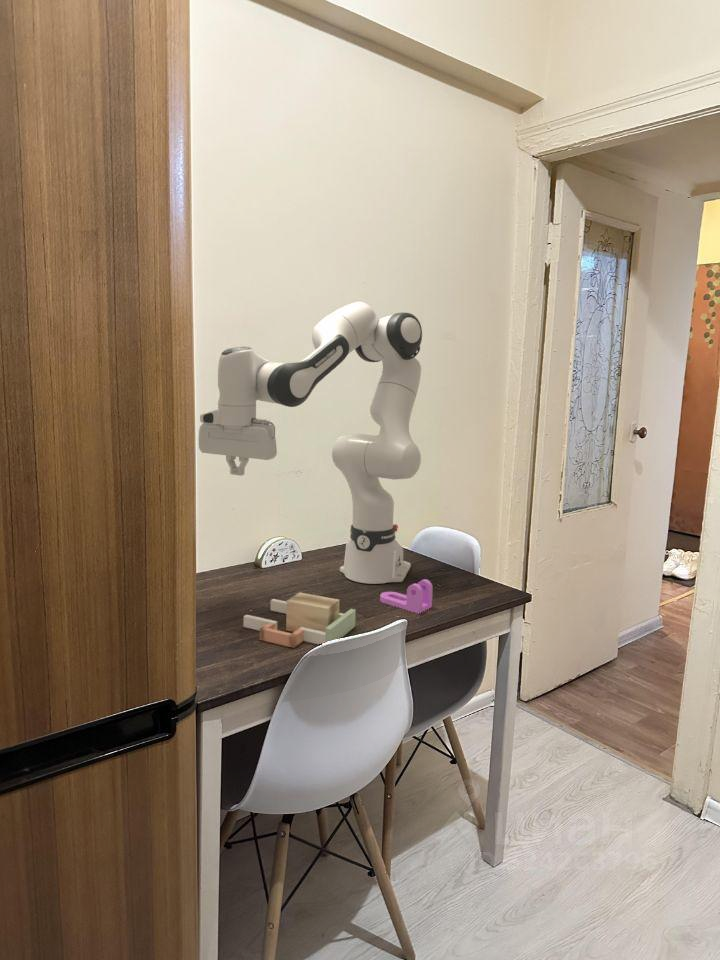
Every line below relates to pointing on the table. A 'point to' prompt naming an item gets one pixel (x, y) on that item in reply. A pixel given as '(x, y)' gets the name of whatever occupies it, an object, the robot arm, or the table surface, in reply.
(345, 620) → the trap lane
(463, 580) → the table surface
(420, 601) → the bracket
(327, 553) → the table surface
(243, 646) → the table surface
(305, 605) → the maple block
